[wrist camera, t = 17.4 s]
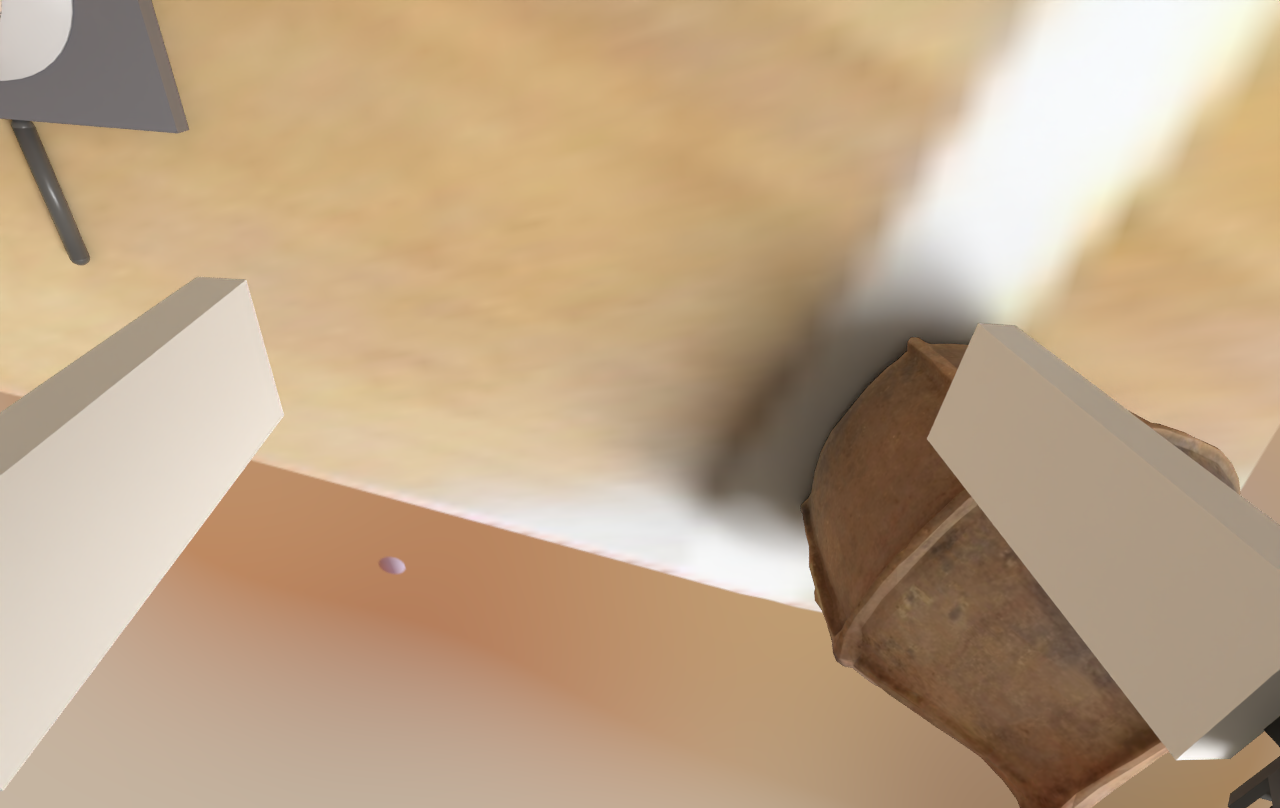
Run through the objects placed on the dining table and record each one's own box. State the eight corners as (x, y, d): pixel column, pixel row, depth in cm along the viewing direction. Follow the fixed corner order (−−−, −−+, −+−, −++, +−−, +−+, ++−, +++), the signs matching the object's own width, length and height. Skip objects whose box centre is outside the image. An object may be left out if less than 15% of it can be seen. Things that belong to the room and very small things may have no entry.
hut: (748, 521, 58) (866, 905, 34) (911, 273, 45) (1308, 604, 20) (936, 567, 64) (1155, 924, 39) (1129, 360, 51) (1646, 700, 26)
